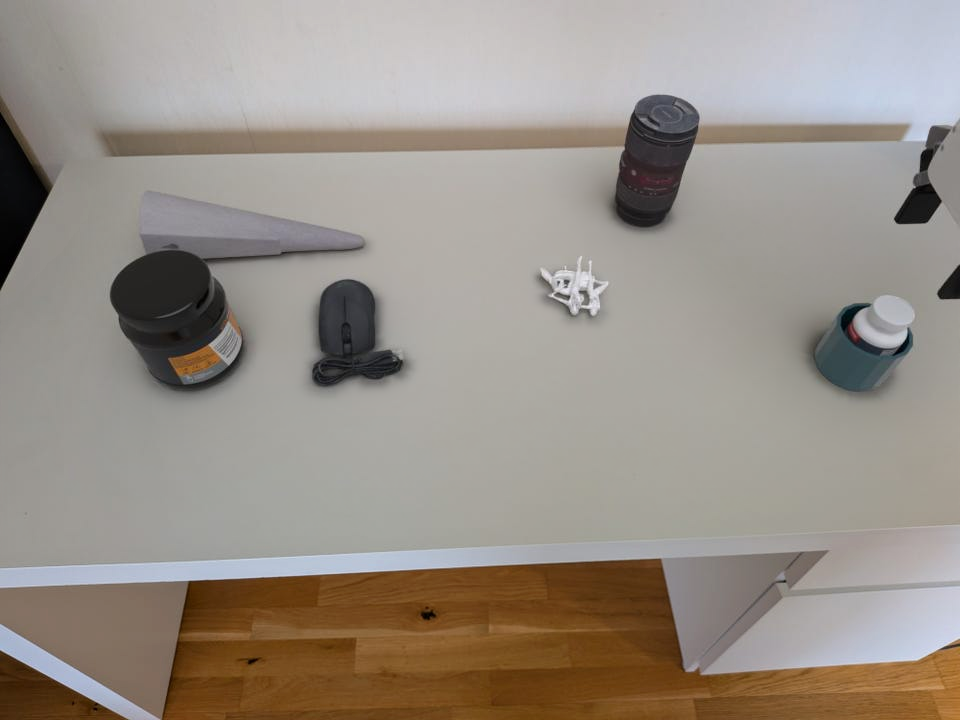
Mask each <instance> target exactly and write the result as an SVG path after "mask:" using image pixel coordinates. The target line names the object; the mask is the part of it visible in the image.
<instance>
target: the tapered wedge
mask: <svg viewBox="0 0 960 720" xmlns="http://www.w3.org/2000/svg"><path fill="white" fill-rule="evenodd" d="M139 222H140V223H139V225H140V230H139V231H140V232H139V237H140V239H141V242H142V246H143V248H144V251H145V255H147V254H150V253H153V252H157V251H163V250H182V251H187V252H190V253H193V254H195V255H197V256H199V257H200V258H201V259H203V260H204V259H219V258H220V259H221V258H238V257H256V256H273V255H274V256H275V255H282V253H285V252H286V253H287V252H306V251H307V252H308V251H309V252H310V251H311V252H312V251H327V250H328V251H330V250H339V251H340V250H352V249H358V248H362V247H363V246H364V245H365V239H364V237H363V236H361V235H359V234H356V233H352V232H348V231H343V230H339V229H336V228H331V227H326V226H322V225H317V224H313V223H307V222H304V221H303V222H302V221H297V220H293V219H287V218H283V217H279V216H273V215H269V214H264V213H259V212H254V211H249V210H244V209H240V208H236V207H231V206H225V205H221V204H216V203H211V202H206V201H202V200H196V199H192V198H187V197H183V196H178V195H174V194H169V193H162V192H159V191H155V190H154V191H153V190H149V189H148V190H147V189H146V190H145V191H144V192H143V194H142V196H141V200H140V207H139Z"/></svg>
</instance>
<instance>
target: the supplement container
mask: <svg viewBox="0 0 960 720" xmlns="http://www.w3.org/2000/svg"><path fill="white" fill-rule="evenodd" d="M109 300H110V304H111V306H112V308H113V309H114V311H115V313H116V314H117V316H118V317H117V318H118V325H119V327H120V331H121V332H122V333H123V335H124V336H125V337H126V339H127V340H128V341H130V343H131V344H132V346H133V348H134V349H135V351H136V352H137V353H138V355H139V357H140V358H141V360H142V361H143V363H144V365H145V367H146V368H147V370H148V372H149V374H150V375H151V376H152V378H154V379H155V381H157V382H159V384H161V385H163V386H165V387H167V388H170V389H174V390H177V391H194V390H200V389H204V388H207V387H211V386H212V385H214V384H215V385H216V384H217V383H218V382H221V381H222V380H224V379H225V378H226V377H228V376H229V375H230V374H231V373H232V372H233V371H234V370H235V369H236V367H237V366H238V364H239V362H240V361H241V359H242V357H243V354H244V350H245V337H244V334H243V331H242V329H241V327H240V326H239V324H238V322H237V319H236V316H235V315H234V312H233V311H232V307H231V306H230V303H229V301H228V299H227V293H226V291H225V289H224V286H223V285H222V283H221V282H220V281H219V280H218V279H217V278H216V277H214V276H213V273H212V272H211V269H210V268H209V266H208V264H207V262H206V261H205V260H204V259H201V258H200V257H199V256H197V255H195V254H193V253H190V252H187V251H182V250H163V251H157V252H153V253H150V254H144V255H142V256H140V257H138V258H136V259H134V260H132V261H131V262H129V263H128V264H126V266H124V267H123V268H122V269H121V270H120V271H119V272H118V273H117V275H116V276H115V278H114V279H113V281H112V283H111V286H110V289H109Z"/></svg>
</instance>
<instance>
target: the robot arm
mask: <svg viewBox="0 0 960 720" xmlns="http://www.w3.org/2000/svg"><path fill="white" fill-rule="evenodd" d="M924 148H925V149H924V150H922V151H921V153H920V156H919V171H918V173H915V174H914V176H913V178H912V185H913V186H914V187H912V189H911V191H910V192H909V194H908V195H907V196H906V198H905V200H904V201H903V202H902V204H901V206H900V208H899V209H898V211H897V212H896V213H895V215H894V217H893V221H894V222H895V224H896V225H924V224H927V223H929V222H930V220H931V219H932V217H933V216H934V214H935V213H936V212H937V210H938V209H939V207H940V206H941V204H942V203H943V205H944V206H945V208H946V210H947V211H948V213H949V214H950V216H951V217H952V219H953V220H954V222H955V223H956V224H957V226H958V228H960V117H959V119H958V120H957V121H955V124H954V125H949V124H939V125H938V124H937V125H936V124H935V125H931V126H930V128H929V130H928V133H927V137H926V142H925V145H924ZM936 295H937V297H938V299H939V300H940V301H941V300H943V301H945V300H960V264H958V265H957V266H956V267H955V269H954V270H953V271H952V272H951V274H950V275H949V276H948V278H947V279H946V280H945V281H944V283H943V284H942V285H941V286H940V288H939V289H938V290H937V293H936Z"/></svg>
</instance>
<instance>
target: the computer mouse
mask: <svg viewBox="0 0 960 720" xmlns="http://www.w3.org/2000/svg"><path fill="white" fill-rule="evenodd" d="M375 314H376V301H375V297H374V294H373V291H372V290H371V289H370V287H369V286H368V285H366V284H365V283H363V282H361V281H359V280H356V279H351V278H345V279H340V280H337V281H334V282H333V283H331V284H329V285H328V286H326V287H325V288H324V289H323V291H322V292H321V295H320V298H319V312H318V324H317V325H318V326H317V327H318V339H319V347H320V350H321V352H323V353H326V354H327V355H329V356H330V357H328V356H327V357H326V356H325V357H323V358H322V359H319V361H316V362H315V364H314V365H313V367H312V370H311V371H312V372H311V373H312V374H311V379H312V381H313V382H314V383H315V384H317V385H319V386H324V387H325V386H330V385H334V384H336V383H338V382H339V381H341V380H342V379H344V378H346V377H349V376H351V375H353V376H357V375H358V374H360V375H361V376H363V377H365V378H367V379H370V380H381V379H382V378H384V376H385V375H391V374H394V373H397V372H399V371H400V370H401V369H402V367H403V363H404V362H403V361H404V360H405V359H404V352H403V349H396V350H391V349H386V350H379V351H372V352H370V353H368V354H365V355H363V356H362V357H356V358H352V355H356V354H361V353H365V352H368V351H370V350H371V349H373V348H375V346H376V325H375V323H376V322H375ZM331 356H340V357H341V356H342V357H343V356H345V358H338V357H331ZM336 369H338V370H341V369H342V370H341V371H338V372H336V373H332V374H327V373H325V371H327V370H336ZM372 375H375V376H372Z"/></svg>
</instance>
